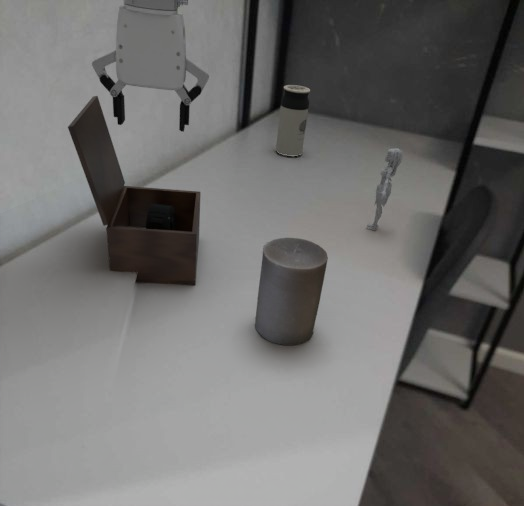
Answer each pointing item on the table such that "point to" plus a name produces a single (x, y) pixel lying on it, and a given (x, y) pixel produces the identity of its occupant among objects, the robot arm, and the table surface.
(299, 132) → the travel mug
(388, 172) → the human figurine
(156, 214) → the tape measure
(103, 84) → the robot arm
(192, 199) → the desk box
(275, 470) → the table surface
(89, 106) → the lid
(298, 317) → the pillar candle
